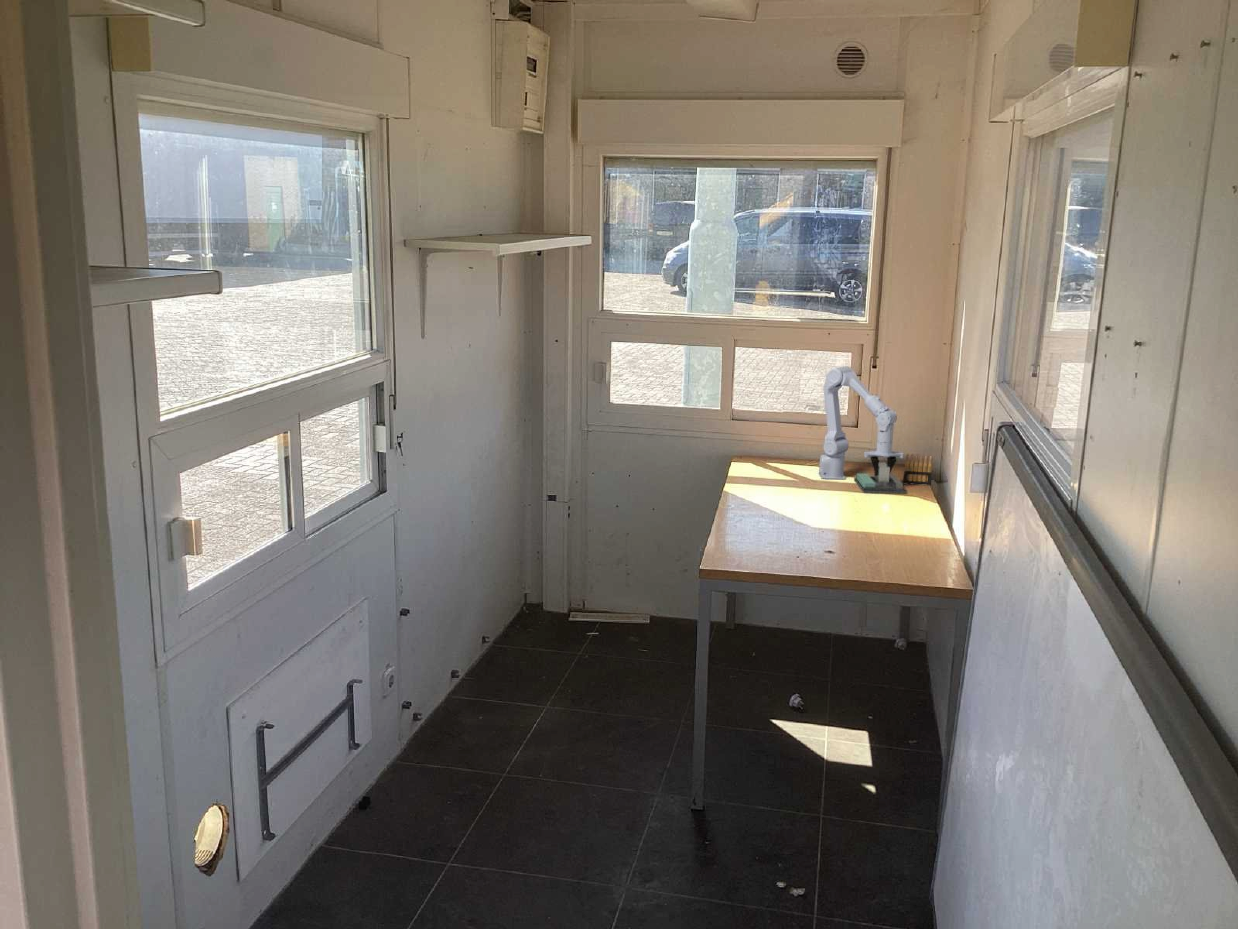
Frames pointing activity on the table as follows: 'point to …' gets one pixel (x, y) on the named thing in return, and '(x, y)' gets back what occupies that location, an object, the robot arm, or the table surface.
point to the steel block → (883, 473)
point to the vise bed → (884, 486)
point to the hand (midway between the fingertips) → (881, 475)
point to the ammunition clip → (917, 470)
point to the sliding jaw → (865, 480)
